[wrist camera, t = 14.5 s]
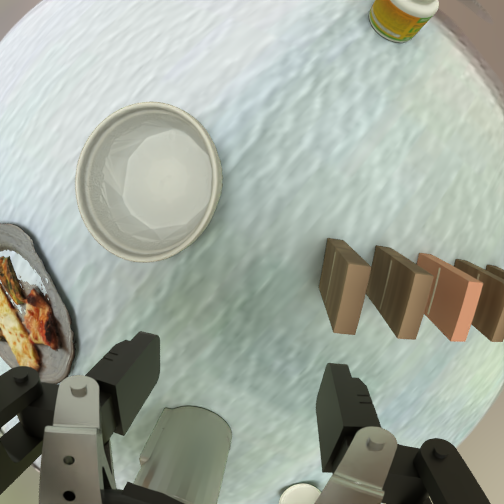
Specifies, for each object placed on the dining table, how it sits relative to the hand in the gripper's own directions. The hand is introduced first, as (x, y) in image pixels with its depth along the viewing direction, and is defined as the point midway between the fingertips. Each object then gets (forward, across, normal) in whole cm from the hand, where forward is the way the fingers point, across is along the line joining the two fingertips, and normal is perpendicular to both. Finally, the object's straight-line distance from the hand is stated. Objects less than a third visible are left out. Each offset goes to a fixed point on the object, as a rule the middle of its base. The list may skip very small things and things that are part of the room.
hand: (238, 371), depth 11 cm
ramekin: (+20, +11, -6) cm, 23 cm away
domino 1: (+20, -6, 0) cm, 21 cm away
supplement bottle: (+20, -10, -27) cm, 35 cm away
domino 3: (+20, -16, 0) cm, 26 cm away
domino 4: (+20, -21, 0) cm, 29 cm away
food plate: (+20, +34, +13) cm, 42 cm away
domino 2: (+20, -11, 0) cm, 23 cm away
